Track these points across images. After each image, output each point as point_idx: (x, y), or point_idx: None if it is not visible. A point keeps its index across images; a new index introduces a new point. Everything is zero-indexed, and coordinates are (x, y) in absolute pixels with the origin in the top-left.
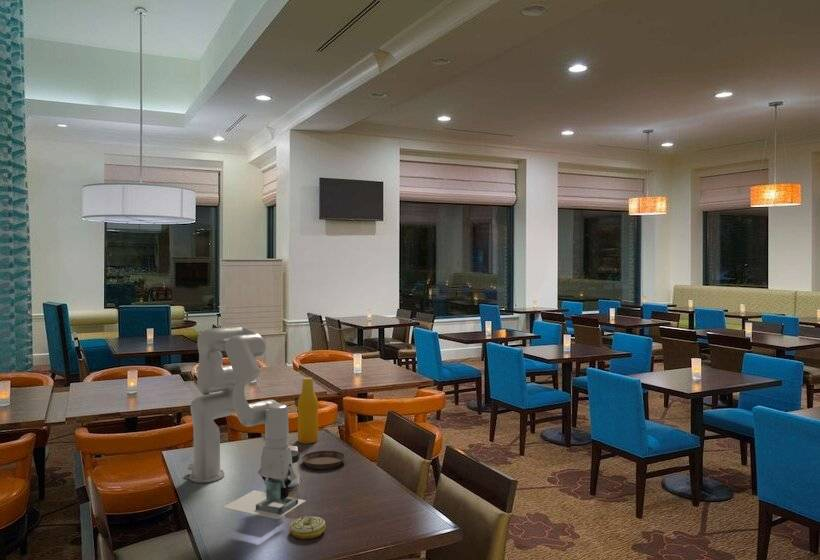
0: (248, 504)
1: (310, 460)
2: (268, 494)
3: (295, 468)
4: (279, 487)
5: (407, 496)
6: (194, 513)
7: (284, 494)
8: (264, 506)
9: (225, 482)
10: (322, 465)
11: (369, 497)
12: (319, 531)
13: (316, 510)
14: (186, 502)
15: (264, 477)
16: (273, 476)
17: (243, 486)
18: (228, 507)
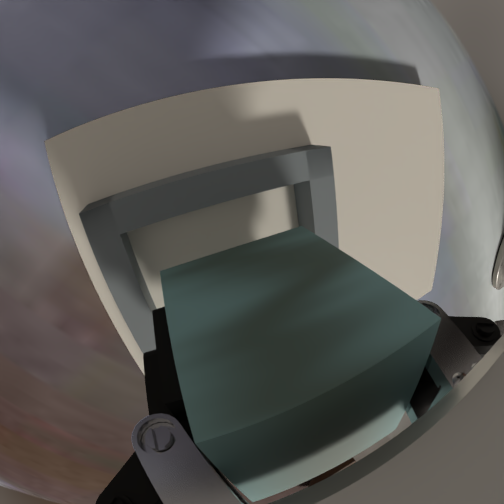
0: (386, 174)
1: None
2: (306, 252)
3: None
4: (183, 390)
5: (56, 500)
6: (457, 47)
7: (155, 359)
8: (253, 166)
9: (486, 265)
10: (332, 471)
11: (90, 486)
12: None
13: (77, 388)
14: (497, 111)
15: (476, 338)
16: (391, 501)
17: (456, 287)
18: (424, 95)
